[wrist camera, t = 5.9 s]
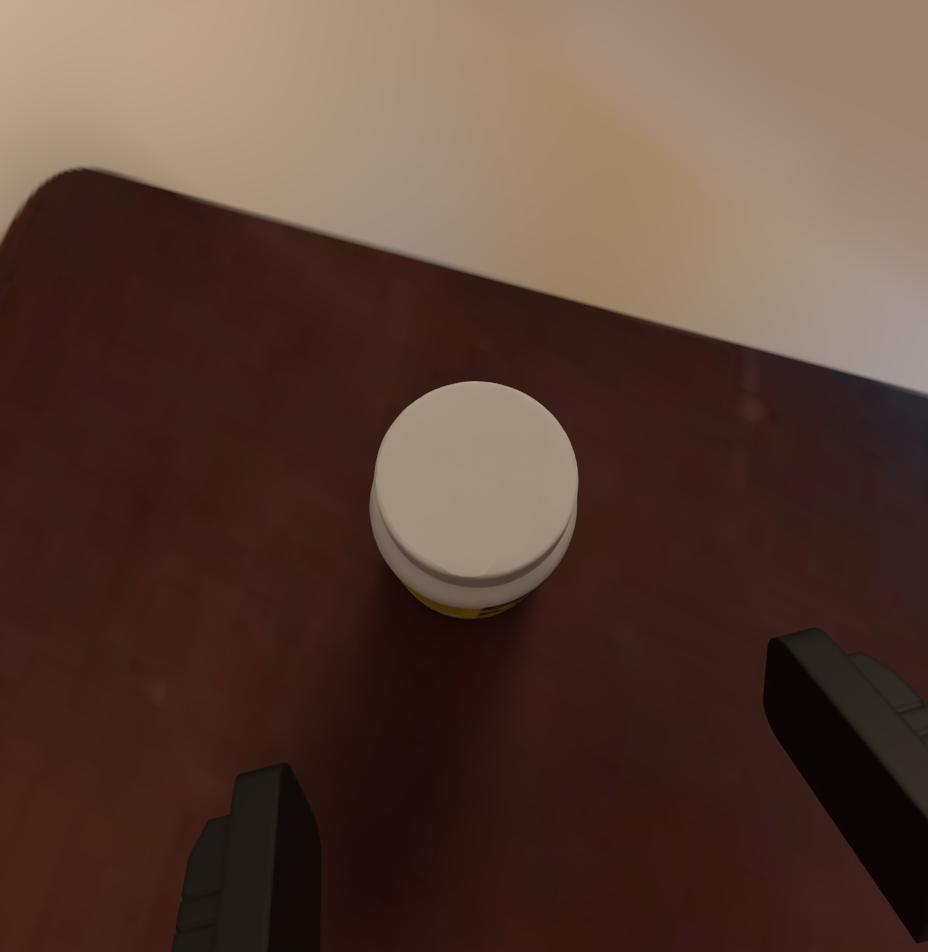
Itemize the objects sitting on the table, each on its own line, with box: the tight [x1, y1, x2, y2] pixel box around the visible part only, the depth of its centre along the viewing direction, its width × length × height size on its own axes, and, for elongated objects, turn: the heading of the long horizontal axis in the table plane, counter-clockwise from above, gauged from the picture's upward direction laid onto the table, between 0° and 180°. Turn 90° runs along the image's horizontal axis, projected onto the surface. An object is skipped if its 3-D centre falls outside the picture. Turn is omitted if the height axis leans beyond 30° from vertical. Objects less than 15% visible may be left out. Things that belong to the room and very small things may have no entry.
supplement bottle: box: [370, 382, 578, 620], centre depth 17 cm, size 5×5×8 cm
